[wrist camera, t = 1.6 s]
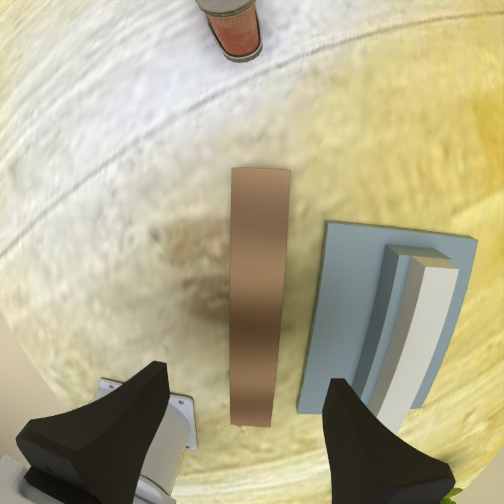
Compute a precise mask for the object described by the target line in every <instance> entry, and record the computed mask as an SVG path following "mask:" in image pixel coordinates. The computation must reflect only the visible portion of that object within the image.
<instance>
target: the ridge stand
mask: <svg viewBox="0 0 504 504" xmlns="http://www.w3.org/2000/svg"><path fill="white" fill-rule="evenodd" d="M477 243H478V240H476V239H474V238H472V237H467V236H460V235H453V234H445V233H438V232H430V231H422V230H413V229H405V228H396V227H388V226H378V225H369V224H359V223H349V222H339V221H328V220H326V223H325V232H324V241H323V249H322V257H321V265H320V272H319V280H318V287H317V294H316V300H315V307H314V313H313V320H312V326H311V332H310V338H309V344H308V349H307V355H306V360H305V365H304V371H303V376H302V381H301V386H300V391H299V396H298V401H297V405H296V408H297V414H322V409H323V405H324V402H325V398H326V395H327V391H328V387H329V383H330V380H331V378H345V380H346V381H347V382H348V384H349V385H350V386H351V388H352V389H353V390H354V391H355V393H356V394H357V395H358V397H359V398H360V399H361V400H362V402H363V403H364V404H365V405H366V406H367V408H368V409H369V410H370V411H371V412H372V413H373V414H374V416H375V417H376V418H377V419H378V420H379V421H380V422H381V423H382V424H383V425H384V426H386V427H387V428H388V429H389V430H390V431H391V432H393V433H394V434H395V435H396V434H397V432H398V430H399V429H400V427H401V425H402V423H403V421H404V419H405V417H406V415H407V413H408V411H409V409H416V408H421V407H422V405H423V403H424V401H425V399H426V397H427V395H428V393H429V391H430V389H431V386H432V384H433V382H434V380H435V377H436V375H437V373H438V371H439V368H440V366H441V363H442V361H443V358H444V356H445V353H446V351H447V348H448V346H449V343H450V340H451V337H452V335H453V332H454V329H455V326H456V323H457V320H458V317H459V314H460V311H461V307H462V304H463V301H464V297H465V294H466V290H467V286H468V283H469V279H470V275H471V271H472V266H473V262H474V258H475V253H476V248H477Z"/></svg>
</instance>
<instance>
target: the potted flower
mask: <svg viewBox="0 0 504 504" xmlns="http://www.w3.org/2000/svg"><path fill="white" fill-rule="evenodd" d="M461 491H463V489H461V488H452V490H451V491H450V492H449V493H448V494H447V495H446V496H445V497H444V498H443V499H442V500H441V501H440V502H439V503H440V504H456V502H454V501H451V499H450V498H449V497H452V496H454V495H456V494H458V493H460V492H461Z"/></svg>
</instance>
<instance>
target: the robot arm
mask: <svg viewBox="0 0 504 504" xmlns="http://www.w3.org/2000/svg"><path fill="white" fill-rule="evenodd" d="M98 383H99V387H100V388H99V390H98V391H97V392H96V394H95V395H94V397H93V398H92V400H91V401H90V402H89V404H87V405H85V406H82V407H80V408H77V409H75V410H72V411H69V412H66V413H63V414H59V415H55V416H50V417H45V418H38V419H31V420H30V421H29V422H28V423H27V424H26V426H25V427H24V428H23V429H22V431H21V432H20V433H19V434H18V436H17V437H16V443H17V446H18V447H19V449H20V451H21V452H22V454H23V455H24V456H25V458H26V459H27V461H28V462H29V463H30V465H31V467H30V469H29V470H27V469H26V468H25V467H24V466H22V465H21V464H19V463H18V462H16V461H15V460H13V459H12V458H10V457H8V456H7V455H5V456H4V457H3V458H2V460H1V461H0V504H176V500H175V499H173V498H171V497H170V496H171V493H172V489H173V486H174V483H175V480H176V476H177V473H178V470H179V467H180V463H181V460H182V457H183V454H184V451H185V449H187V450H193V451H194V450H197V439H196V429H195V418H194V407H193V400H192V399H191V398H189V397H184V396H178V395H173V394H170V389H169V381H168V373H167V364H166V363H163V362H158V361H153V362H151V363H150V364H149V365H147V366H146V367H145V368H144V369H142V370H141V371H140V372H138V373H137V374H136V375H135V376H133V377H132V378H131V379H129V380H128V381H126V382H125V383H124V384H121V383H117V382H113V381H110V380H106V379H100V380H99V382H98ZM180 400H181V401H180ZM182 401H183V402H182ZM322 420H323V432H324V437H325V443H326V448H327V453H328V459H329V464H330V471H331V483H332V504H440V503H439V502H440V501H441V500H442V499H443V498H444V497H445V496H446V495H447V494H448V493H449V492H450V491H451V490H452V488H453V487H454V485H455V482H456V481H455V478H454V476H453V473H452V471H451V469H450V467H449V465H448V464H447V463H444V462H442V461H439V460H437V459H435V458H432V457H430V456H428V455H426V454H424V453H422V452H420V451H419V450H417V449H415V448H414V447H412V446H410V445H409V444H407V443H406V442H404V441H403V440H402V439H400V438H399V437H397V436H396V435H395V434H394V433H393V432H391V431H390V430H389V429H388V428H387V427H386V426H384V425H383V424H382V423H381V422H380V421H379V420H378V419H377V418H376V417H375V416H374V414H373V413H372V412H371V411H370V410H369V409H368V408H367V406H366V405H365V404H364V403H363V402H362V400H361V399H360V398H359V397H358V395H357V394H356V393H355V391H354V390H353V389H352V388H351V386H350V385H349V384H348V382H347V381H346V380H345V378H331V380H330V383H329V387H328V391H327V395H326V398H325V402H324V405H323V409H322Z"/></svg>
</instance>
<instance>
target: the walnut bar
mask: <svg viewBox="0 0 504 504" xmlns="http://www.w3.org/2000/svg"><path fill="white" fill-rule="evenodd" d="M290 171H291V170H286V169H266V168H232V184H231V231H230V424H231V425H242V426H256V427H270V426H271V417H272V408H273V399H274V389H275V380H276V370H277V359H278V349H279V338H280V326H281V314H282V302H283V289H284V275H285V261H286V246H287V230H288V212H289V193H290Z"/></svg>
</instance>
